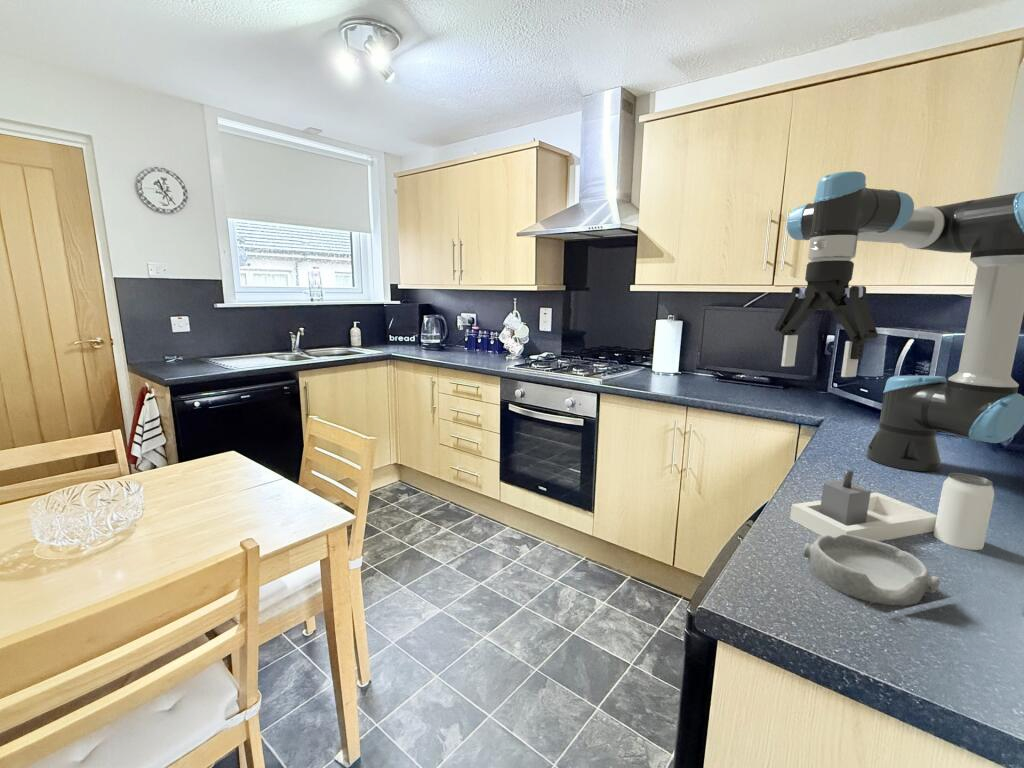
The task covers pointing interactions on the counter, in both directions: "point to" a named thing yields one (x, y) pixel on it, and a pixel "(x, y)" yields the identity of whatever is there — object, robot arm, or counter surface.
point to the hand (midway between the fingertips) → (815, 371)
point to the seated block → (845, 501)
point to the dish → (869, 570)
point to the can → (964, 511)
